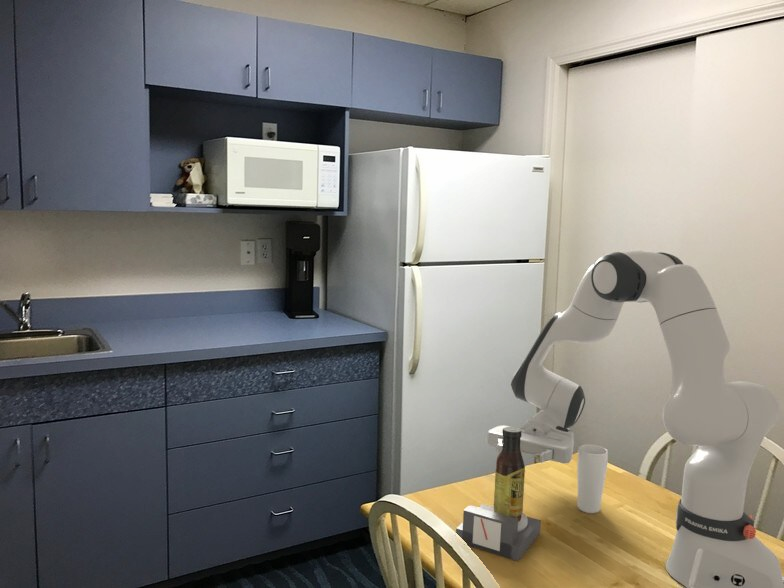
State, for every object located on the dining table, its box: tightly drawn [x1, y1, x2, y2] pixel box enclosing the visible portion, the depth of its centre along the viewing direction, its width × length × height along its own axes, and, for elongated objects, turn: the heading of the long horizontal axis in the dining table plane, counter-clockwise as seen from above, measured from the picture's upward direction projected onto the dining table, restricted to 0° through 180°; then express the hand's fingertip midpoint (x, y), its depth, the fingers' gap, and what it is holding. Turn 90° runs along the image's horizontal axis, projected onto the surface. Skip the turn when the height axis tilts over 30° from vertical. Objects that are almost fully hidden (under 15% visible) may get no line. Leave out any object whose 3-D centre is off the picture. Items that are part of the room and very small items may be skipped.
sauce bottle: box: [493, 426, 526, 522], centre depth 145 cm, size 6×6×20 cm
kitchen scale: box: [455, 503, 542, 562], centre depth 146 cm, size 14×14×8 cm
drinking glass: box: [576, 444, 609, 514], centre depth 160 cm, size 7×7×15 cm
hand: (518, 454), depth 153 cm, fingers open, 8 cm apart
